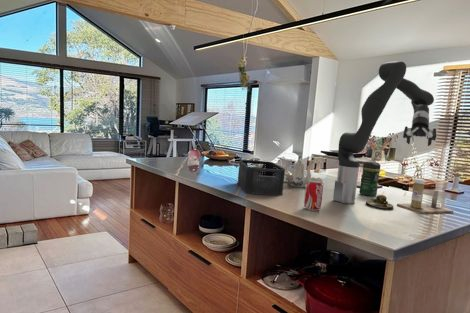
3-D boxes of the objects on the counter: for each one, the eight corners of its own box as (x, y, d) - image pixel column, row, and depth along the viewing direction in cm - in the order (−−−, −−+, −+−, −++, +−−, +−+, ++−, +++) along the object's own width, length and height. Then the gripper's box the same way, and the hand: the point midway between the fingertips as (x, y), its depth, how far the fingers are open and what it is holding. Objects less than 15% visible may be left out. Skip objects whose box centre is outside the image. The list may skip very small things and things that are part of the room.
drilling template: (422, 213, 145) (425, 194, 144) (396, 205, 158) (399, 187, 157) (453, 212, 153) (455, 194, 152) (426, 205, 166) (428, 187, 165)
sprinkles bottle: (409, 206, 153) (413, 178, 152) (411, 205, 156) (415, 177, 155) (420, 209, 150) (424, 180, 149) (422, 207, 154) (426, 179, 152)
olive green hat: (360, 204, 156) (362, 188, 155) (378, 203, 161) (380, 188, 160) (380, 211, 145) (382, 194, 144) (399, 210, 150) (401, 194, 149)
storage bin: (284, 196, 159) (287, 169, 157) (245, 194, 156) (247, 166, 154) (269, 184, 187) (271, 161, 185) (236, 182, 184) (238, 159, 182)
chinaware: (327, 190, 193) (331, 162, 192) (317, 191, 179) (322, 161, 178) (283, 182, 208) (287, 156, 208) (272, 182, 194) (276, 154, 194)
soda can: (311, 211, 132) (314, 182, 131) (299, 207, 138) (302, 179, 137) (324, 211, 135) (327, 182, 134) (312, 206, 141) (315, 179, 140)
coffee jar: (370, 197, 175) (375, 162, 173) (357, 193, 181) (361, 160, 179) (379, 195, 181) (383, 162, 179) (365, 192, 187) (369, 160, 185)
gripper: (405, 115, 168) (403, 137, 159) (438, 116, 162) (437, 139, 153) (404, 125, 173) (401, 147, 164) (435, 127, 167) (434, 150, 158)
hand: (418, 143), depth 159 cm, fingers open, 8 cm apart
